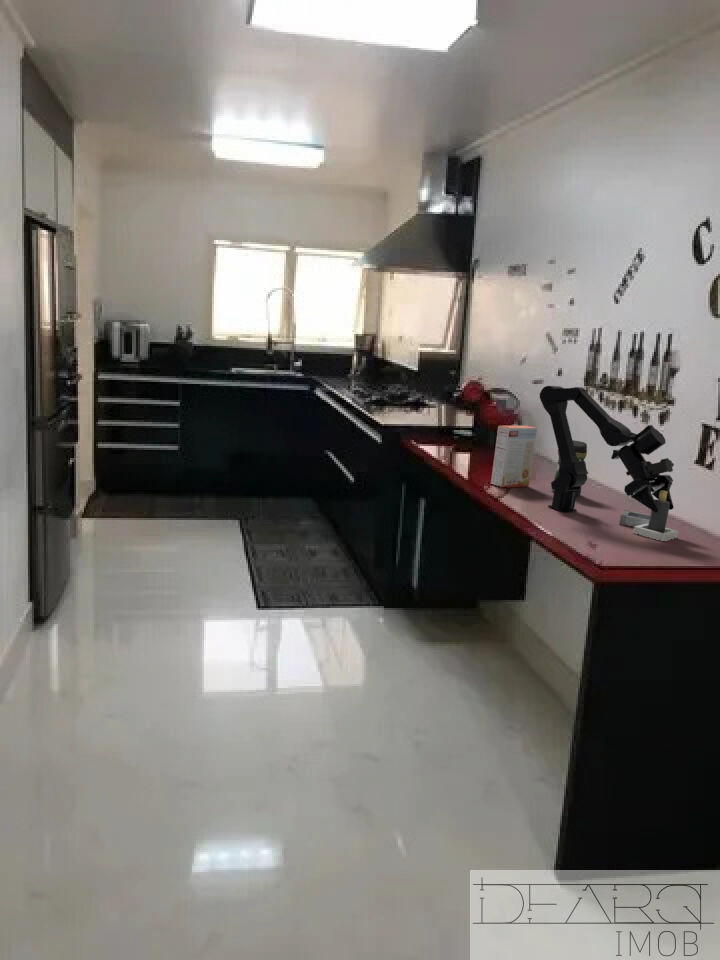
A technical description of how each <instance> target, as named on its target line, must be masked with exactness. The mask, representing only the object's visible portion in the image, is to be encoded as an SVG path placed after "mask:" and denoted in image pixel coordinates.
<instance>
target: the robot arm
mask: <svg viewBox="0 0 720 960" xmlns="http://www.w3.org/2000/svg"><path fill="white" fill-rule="evenodd" d="M539 400H540V402H541V404H542V407H543V409H544V410H545V411H546V413H547V414H548V415H549V418H550V420H551V424H552V425H551V426H552V430H553V432H554V434H553V435H554V437H555V441H556V445H557V451H558V450H559V455H560V459H561V462H560V467H559V477H558V478H557V479H555V480H554V479H553V480H552V481H551V482H550V486H551V490H552V489H553V490H554V492H553V497H552V500H551V501H552V503H551V504H548V505H547V506H548V508H550V507H551V509H552V510H553V509H554V510H556V511H559V512H565V513H567V512H570V513H571V512H577V511H578V509H576V508H575V505H576V500H577V496H576V491H579V490H580V488H581V489H582V486H584V485H585V484H586V482H587V481H588V474H589V471H588V470H587V463H586V461H585V460H584V461H579V459H578V458H577V456H576V452H575V448H574V444H573V437H572V433H571V428H570V425H569V422H568V421H569V420H568V416H567V409H568V408H567V407H568V401H574V403H575V404H576V405H577V406H578V407H579V408H580V409H581V410H582V412H584V414H585V415H587V417H588V418H589V419H590V420H591V421H592V423H594V424H595V425H596V426H597V428H598V430H599V433H600V435H601V437H602V439H603V441H604V442H605V443H606V445H608V446H610V447H621V446H622V447H621V448H619V449H612V455H611V457H610V458H611V460H617V459H618V460H619V459H620V461H621V463H622V464H623V465H624V467H625V468H626V470H627V471H625V474H626V476H630V477H631V478H632V481H631V482H629V483H627V484H626V485H624V489H623V491H624V493H625V494H626V497H630V498H631V499H634V500H635V501H637V502H639V503H640V504H642V505H644V506H645V507H646V508H648V509H649V510H650V511H651V510H652V511H654V512H655V513H656V512H658V511H659V509H658V507H657V505H656V502H655V500H658V499H659V493H660V490H663V491H667V497H666V501H667V502H670V507H669V511H671V510H674V503H673V500H672V496H671V492H670V491H671V487H672V485H673V482H674V479H673V477H672V476H671V475H670V474H664V473H670V472H671V473H672V472H673V471H674V469H673V467H674V466H675V465H674V463H673V462H672V460H671V459H670V458H667V457H665V458H661V459H660V461H658V462H654V463H652V462H651V461H650V460H648V461H646V459H645V457H644V455H647V456H650V455H651V454H652V453H654V452H655V451H657V450H658V449H659V448H661V447H662V446H664V445H665V444H666V442H667V441H666V438H665V437H664V435H663V434H662V433H661V432H660V431H659V430H658V429H656V428H655V427H654V426H653V425H652V424H648V425H647V426H645V427H644V428H643V430H641V431H639V433H634V432H632V430H631V429H630V428H629V427H627V426H626V425H624V424H623V423H622V422H620V421H618V420H616V419H615V418H613V417H612V416H610V415H609V414H608V412H607V411H606V410H605V409H604V408H603V407H602V406H601V405H600V404H599V403H598V402H597V401H596V400H595V399H594V398H593V397H592V396H591V395H590V394H589V393H588V392H587V390H586V389H585V388H584V387H581V386H580V387H579V386H573V387H566V388H565V387H563V386H560V385H547V386H546V385H545V386H544V387H543V388H541V390H540V392H539ZM629 443H631V444H629ZM628 444H629V445H628ZM559 455H558V456H559ZM653 496H654V497H653ZM654 498H656V499H654Z"/></svg>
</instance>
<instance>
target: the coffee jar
mask: <svg viewBox="0 0 720 960" xmlns="http://www.w3.org/2000/svg"><path fill="white" fill-rule="evenodd" d="M572 440H573V439H572ZM573 444H574V448H575V452H576V456H577V458H578V459H579V461H585V459H586V458H587V454H588V453H587V452H588V450H587V449H588V445H587V443H586V442H585V441H580V440H576V439H575V440H573ZM557 454H558V461H557V466H556V470H555V474H554V478H553V481H554V480H555V479H557V478H558V477H559V467H560V462H561V459H560V455H559V450H558V449H557ZM551 491H552V492H553V493H554V490H553V489H552V488H551ZM581 493H582V487H581V488H580V490H579V491H576V497H577V496H580V495H581Z"/></svg>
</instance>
